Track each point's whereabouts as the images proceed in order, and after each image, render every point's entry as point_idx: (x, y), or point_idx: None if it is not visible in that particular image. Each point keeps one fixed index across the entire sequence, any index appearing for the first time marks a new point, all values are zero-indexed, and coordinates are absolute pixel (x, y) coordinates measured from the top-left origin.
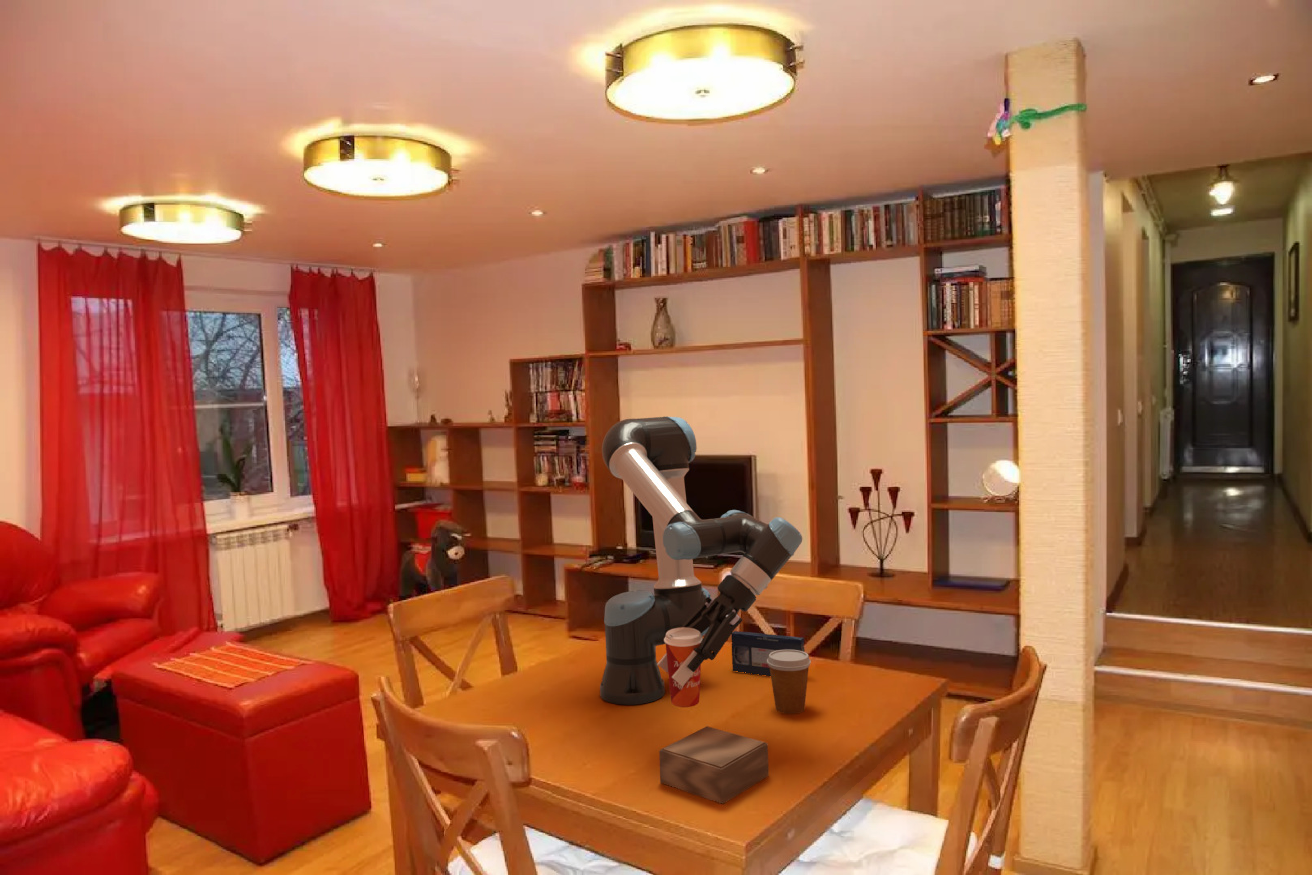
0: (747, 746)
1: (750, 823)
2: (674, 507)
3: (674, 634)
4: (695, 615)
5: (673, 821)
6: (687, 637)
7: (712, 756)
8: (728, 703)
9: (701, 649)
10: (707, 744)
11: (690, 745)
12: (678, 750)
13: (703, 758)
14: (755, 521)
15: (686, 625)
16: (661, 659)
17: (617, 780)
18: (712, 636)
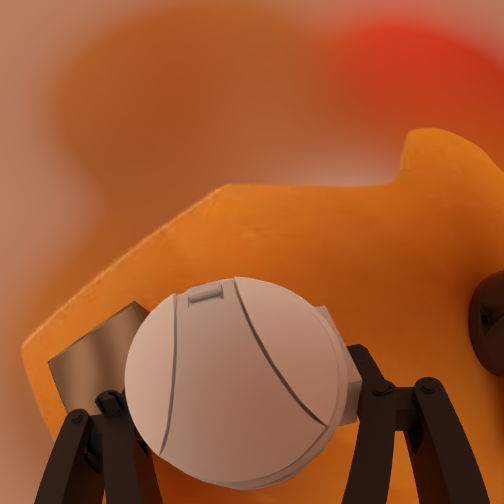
0: None
1: (38, 375)
2: None
3: (219, 321)
4: (447, 495)
5: (69, 302)
6: (144, 378)
7: (77, 368)
8: None
9: (104, 420)
10: (116, 382)
11: (123, 353)
12: (115, 327)
13: (77, 352)
14: None
15: (426, 431)
16: (325, 316)
17: (186, 263)
18: (67, 473)
